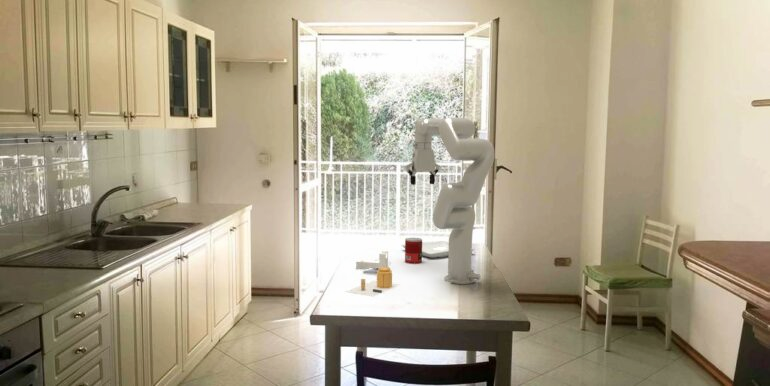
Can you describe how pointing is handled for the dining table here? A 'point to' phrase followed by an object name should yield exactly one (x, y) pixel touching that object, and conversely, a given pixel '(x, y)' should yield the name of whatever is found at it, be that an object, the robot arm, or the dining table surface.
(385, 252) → the bracket
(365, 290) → the junction plate
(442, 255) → the square plate
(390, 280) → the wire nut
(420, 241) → the canned food
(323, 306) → the dining table surface
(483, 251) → the dining table surface
